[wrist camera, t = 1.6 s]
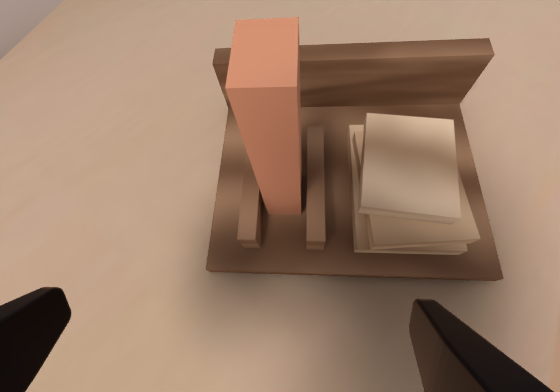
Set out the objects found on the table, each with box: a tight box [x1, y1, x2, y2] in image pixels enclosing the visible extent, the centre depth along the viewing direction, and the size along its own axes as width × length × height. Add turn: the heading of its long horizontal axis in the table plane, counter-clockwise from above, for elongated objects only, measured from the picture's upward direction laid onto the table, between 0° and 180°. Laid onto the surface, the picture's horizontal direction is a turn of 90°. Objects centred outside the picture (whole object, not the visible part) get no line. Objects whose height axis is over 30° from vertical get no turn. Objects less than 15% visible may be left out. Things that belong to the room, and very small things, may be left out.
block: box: [225, 17, 302, 215], centre depth 17 cm, size 4×2×13 cm
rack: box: [206, 38, 503, 281], centre depth 21 cm, size 16×20×6 cm
